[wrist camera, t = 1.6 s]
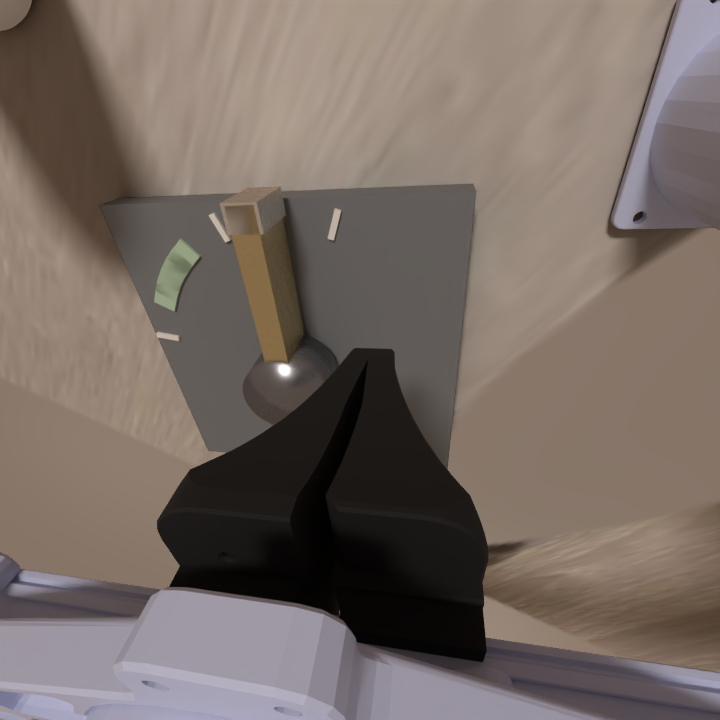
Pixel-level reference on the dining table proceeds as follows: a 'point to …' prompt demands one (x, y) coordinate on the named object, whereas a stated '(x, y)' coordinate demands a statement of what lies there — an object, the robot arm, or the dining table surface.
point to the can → (13, 12)
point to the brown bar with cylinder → (273, 307)
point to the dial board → (307, 293)
